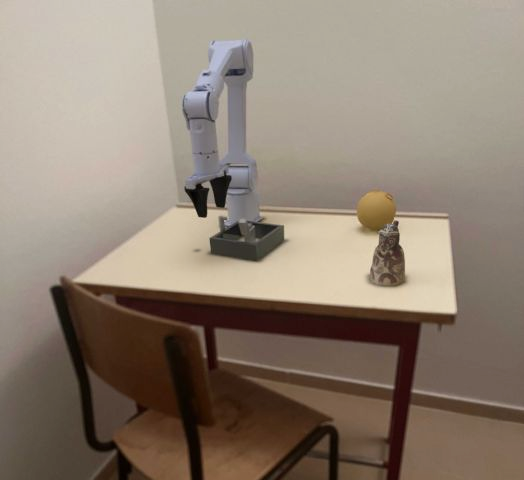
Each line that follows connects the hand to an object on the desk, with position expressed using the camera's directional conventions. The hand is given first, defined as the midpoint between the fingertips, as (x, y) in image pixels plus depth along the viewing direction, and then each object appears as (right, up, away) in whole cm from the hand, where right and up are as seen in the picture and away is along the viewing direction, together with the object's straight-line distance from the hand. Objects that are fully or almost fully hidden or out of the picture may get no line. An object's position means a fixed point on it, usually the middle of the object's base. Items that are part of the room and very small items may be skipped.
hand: (211, 212), depth 121 cm
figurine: (+38, -17, -12) cm, 44 cm away
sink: (+8, -7, +8) cm, 13 cm away
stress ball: (+41, -1, +14) cm, 44 cm away
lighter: (+8, -7, +8) cm, 13 cm away
